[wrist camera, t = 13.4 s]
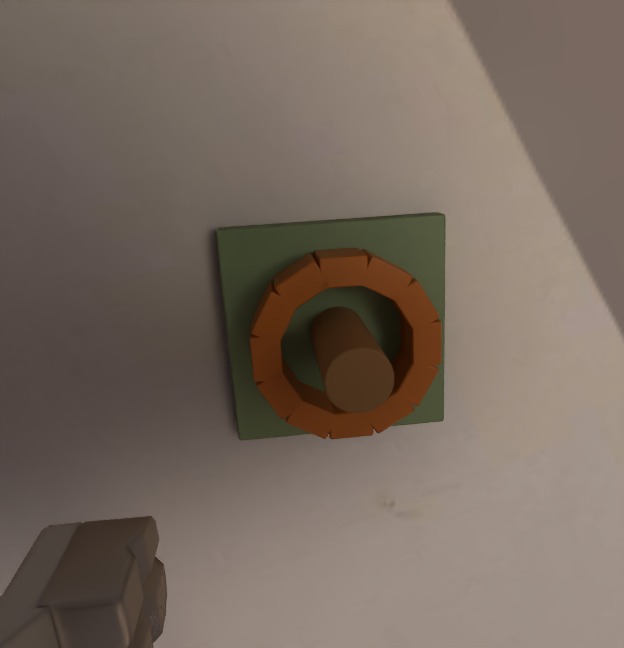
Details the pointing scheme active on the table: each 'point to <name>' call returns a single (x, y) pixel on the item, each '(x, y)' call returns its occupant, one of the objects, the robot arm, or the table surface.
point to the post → (330, 314)
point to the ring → (408, 365)
